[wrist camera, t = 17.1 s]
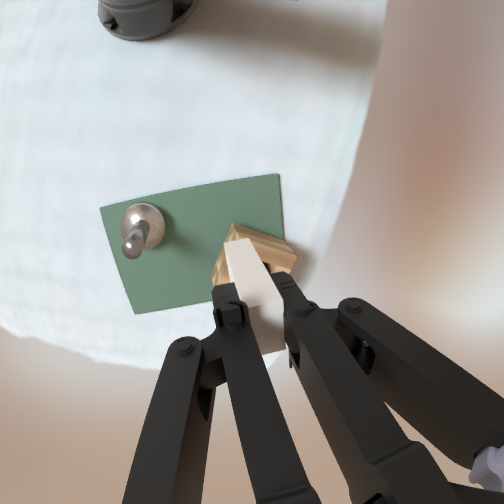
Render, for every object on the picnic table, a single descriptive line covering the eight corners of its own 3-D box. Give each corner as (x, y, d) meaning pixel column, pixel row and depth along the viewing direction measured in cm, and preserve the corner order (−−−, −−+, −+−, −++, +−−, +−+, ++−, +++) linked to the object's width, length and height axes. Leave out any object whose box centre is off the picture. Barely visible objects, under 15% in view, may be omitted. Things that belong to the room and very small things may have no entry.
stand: (117, 207, 38) (98, 228, 29) (160, 197, 39) (152, 216, 30) (128, 248, 41) (114, 279, 32) (170, 240, 42) (165, 269, 33)
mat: (100, 207, 38) (99, 208, 37) (277, 173, 42) (278, 173, 41) (135, 313, 46) (135, 314, 46) (285, 283, 50) (286, 285, 50)
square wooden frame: (232, 222, 41) (239, 237, 36) (284, 240, 44) (297, 256, 39) (211, 274, 44) (214, 294, 38) (261, 288, 47) (271, 308, 41)
